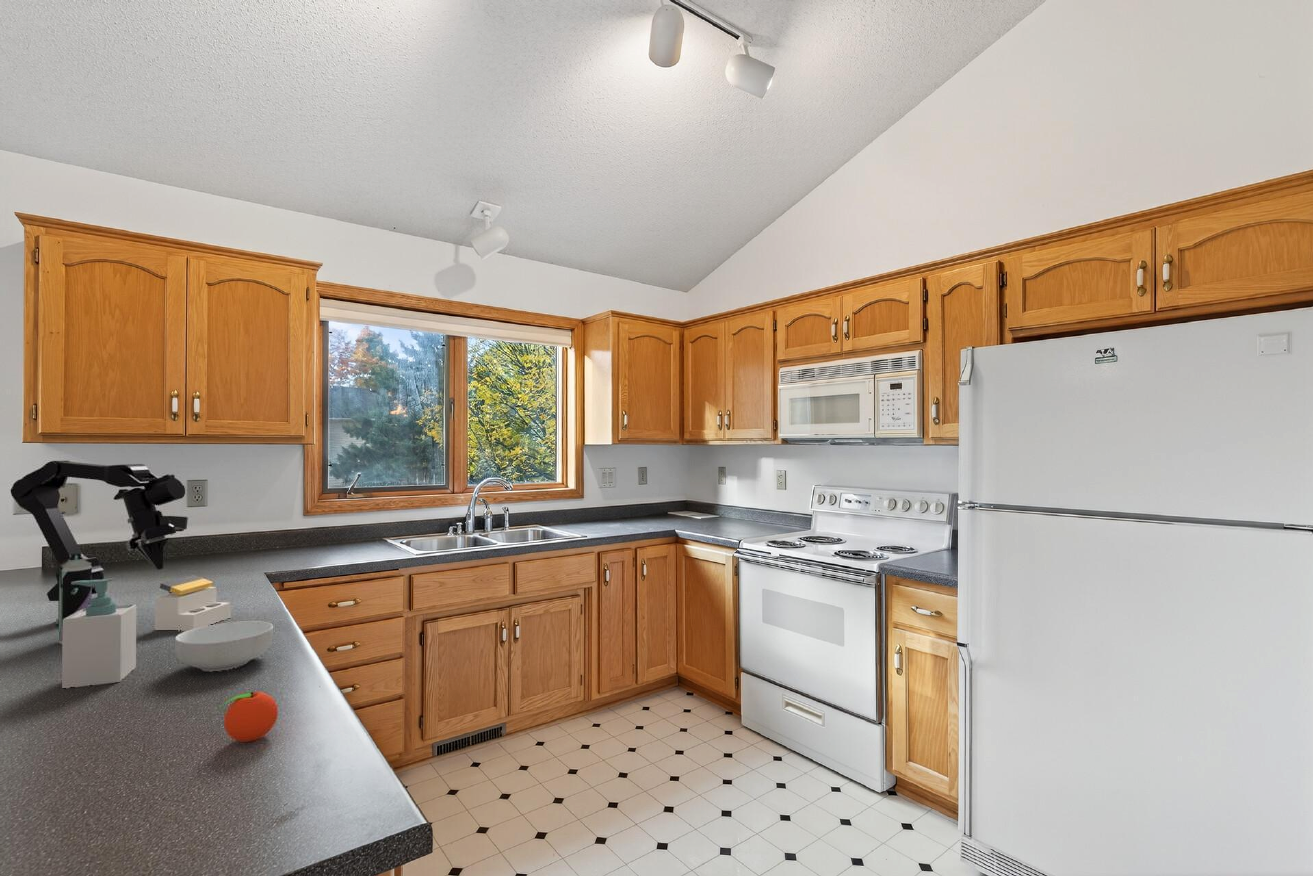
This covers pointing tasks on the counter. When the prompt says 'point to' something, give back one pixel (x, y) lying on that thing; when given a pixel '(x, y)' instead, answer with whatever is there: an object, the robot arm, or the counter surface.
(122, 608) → the soap bottle
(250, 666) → the counter surface
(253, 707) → the clementine
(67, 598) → the spray can
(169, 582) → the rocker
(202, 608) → the stepped slotted block
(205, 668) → the cereal bowl
